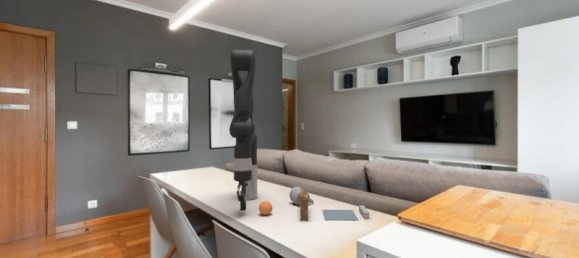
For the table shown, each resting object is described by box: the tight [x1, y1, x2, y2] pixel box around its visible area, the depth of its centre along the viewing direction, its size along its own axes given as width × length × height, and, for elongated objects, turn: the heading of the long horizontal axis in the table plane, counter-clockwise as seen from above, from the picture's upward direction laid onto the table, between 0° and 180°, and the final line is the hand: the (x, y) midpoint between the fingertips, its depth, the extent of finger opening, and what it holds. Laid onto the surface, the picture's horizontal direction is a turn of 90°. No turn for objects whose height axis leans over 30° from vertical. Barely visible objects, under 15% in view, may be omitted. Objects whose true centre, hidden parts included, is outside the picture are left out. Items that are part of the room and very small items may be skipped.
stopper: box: [358, 205, 370, 220], centre depth 113 cm, size 2×10×2 cm, turn 177°
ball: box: [258, 200, 273, 216], centre depth 115 cm, size 6×6×6 cm
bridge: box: [299, 187, 309, 222], centre depth 114 cm, size 3×15×9 cm, turn 177°
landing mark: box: [322, 209, 359, 221], centre depth 114 cm, size 13×13×1 cm
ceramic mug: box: [289, 186, 315, 206], centre depth 131 cm, size 11×8×8 cm
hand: (243, 210), depth 115 cm, fingers closed
